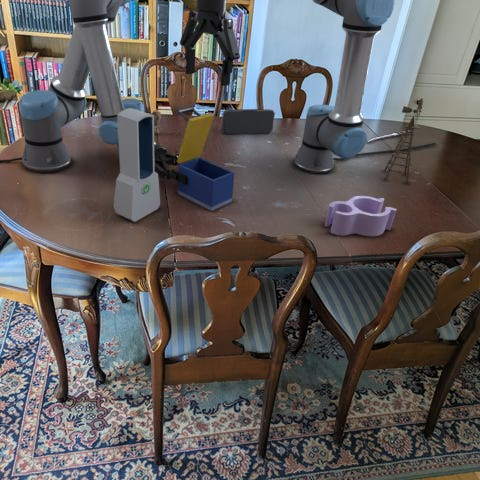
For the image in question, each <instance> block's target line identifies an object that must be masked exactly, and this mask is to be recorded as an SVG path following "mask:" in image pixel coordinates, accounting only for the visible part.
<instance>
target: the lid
mask: <svg viewBox="0 0 480 480" xmlns="http://www.w3.org/2000/svg"><path fill="white" fill-rule="evenodd" d="M187 113H193V114H194V115H195V117H191V118H189V117H188V116H187V115H186V114H187ZM175 114H176V115H178V116H181V117H182V118H183V119H184V120H185V121H187V124H186V128H185V131H184V135H183V139H182V141H181V145H180V148H179V156H178V159H177V162H178V163H179V164H180V163H183V162H186V161H189V160H191V159H194V158H197V157H198V158H199V157H200V158H201V156H202V154H203V151H204V148H205V144H206V142H207V138H208V136H209V133H210V129H211V127H212V123H213V120H214V119H215V114H214V113H212V112H211V113H206V114H203V115H201V114H200V113H199V111H197V110H195V108H194V106H193V105H188V106H184V107H180V108H176V109H175Z"/></svg>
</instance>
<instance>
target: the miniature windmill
mask: <svg viewBox="0 0 480 480" xmlns="http://www.w3.org/2000/svg"><path fill="white" fill-rule="evenodd" d="M423 102H424V98H423V97H422V98H420V99H419V101H418V103H417V107H416V109H412V108H411V107H408V106H405V105H403V108H402V111H401V113H402V114H411V113H413V116H412V117H411V119H410V120H409V123H408V122H404V127H405V129H404V130H403V132H404V134H401V137H400V139H399V140H398V141H397V144H396V146H395V151H394V152H392V155H391V156H390V158H389V160H388V162H387V163H386V166H385V168H384V170H383V172H384V173H386V172H387V171H388V172H387V173H386V176H385V178H384V180H386V181H387V180H388V178H389V176H390V173H391V172H393V173H398V174H403V175H404V176H406V179H405V184H408V183H409V175H410V174H411V173H410V163H411V160H412V156H411V155H412V149H411V148H412V147H413V139H414V138H413V137H414V129H415V130H419V129H420V125H419V124H417V123H419V118H420V116H421V114H420V113H422V109H423V105H424V103H423ZM408 132H409V133H408ZM407 136H409V140H408V141H405V140H406V137H407ZM404 143H405V144H404ZM406 144H408V145H406ZM402 147H403V148H408V150H407V152H404V151H400V149H402ZM397 149H398V151H397ZM399 154H402V155H403V154H404V155H406V157H401V156H398V155H399ZM397 159H401V160H405V164H401V163H395V162H396V160H397ZM392 160H393V161H392ZM394 166H399V167H400V166H401V167H404V171H398V170H394V169H393V167H394ZM392 169H393V170H392Z"/></svg>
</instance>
